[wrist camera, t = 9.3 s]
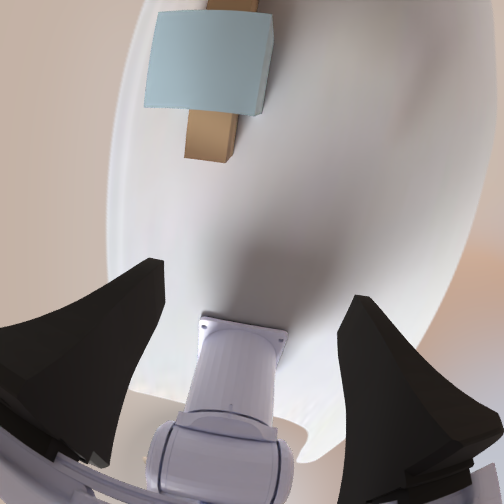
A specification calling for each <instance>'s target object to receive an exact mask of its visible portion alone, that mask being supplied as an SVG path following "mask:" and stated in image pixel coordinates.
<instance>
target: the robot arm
mask: <svg viewBox="0 0 504 504" xmlns="http://www.w3.org/2000/svg"><path fill="white" fill-rule="evenodd" d="M164 305H165V283H164V261H163V260H158V259H153V258H147V259H146V260H144V261H142V262H141V263H139V264H138V265H136V266H134V267H133V268H131V269H130V270H128V271H127V272H125V273H124V274H122V275H120V276H119V277H117V278H116V279H114V280H113V281H111V282H109V283H108V284H106V285H104V286H103V287H101V288H99V289H97V290H96V291H94V292H92V293H91V294H89V295H87V296H85V297H83V298H82V299H80V300H78V301H76V302H74V303H72V304H70V305H67V306H65V307H63V308H61V309H59V310H56V311H53V312H51V313H48V314H46V315H43V316H41V317H38V318H35V319H32V320H29V321H26V322H22V323H19V324H15V325H11V326H7V327H3V328H0V498H1V499H2V500H3V501H4V502H5V503H6V504H109V503H107V502H105V501H102V500H100V499H97V498H96V497H95V495H94V492H93V490H92V489H94V490H96V491H98V492H100V493H103V494H105V495H107V496H110V497H112V498H115V499H117V500H120V501H122V502H125V503H128V504H284V503H285V502H286V500H287V498H288V496H289V493H290V490H291V486H292V481H293V473H294V459H293V453H292V450H291V448H290V447H289V446H288V445H287V443H286V442H285V440H282V439H277V428H275V427H272V423H273V406H274V387H275V370H276V367H277V365H278V362H279V359H280V357H281V354H282V352H283V349H284V346H285V343H286V341H287V338H288V333H287V332H286V331H284V330H278V329H271V328H265V327H259V326H253V325H247V324H242V323H236V322H231V321H225V320H220V319H215V318H210V317H204V316H203V317H201V318H200V320H199V334H198V362H197V365H196V369H195V372H194V376H193V379H192V383H191V387H190V390H189V394H188V397H187V401H186V405H185V408H184V412H181V411H179V412H178V416H177V419H176V422H175V421H171V420H168V421H166V422H165V423H164V424H162V425H160V426H159V427H158V428H157V430H156V432H155V434H154V436H153V438H152V441H151V444H150V447H149V451H148V456H147V461H146V480H147V490H145V489H142V488H139V487H136V486H133V485H130V484H127V483H125V482H122V481H119V480H117V479H114V478H112V477H109V476H107V475H105V474H102V473H100V472H98V471H95V470H93V469H91V468H89V467H87V466H85V465H83V464H81V463H79V462H78V461H79V460H80V461H82V462H83V463H86V464H88V463H89V464H92V465H94V466H96V467H98V468H105V467H108V466H109V465H110V458H111V452H112V447H113V442H114V437H115V432H116V428H117V424H118V420H119V416H120V412H121V409H122V405H123V402H124V399H125V395H126V392H127V389H128V386H129V383H130V381H131V378H132V375H133V373H134V371H135V368H136V366H137V364H138V362H139V360H140V358H141V356H142V354H143V352H144V350H145V348H146V346H147V344H148V342H149V340H150V338H151V336H152V334H153V332H154V330H155V328H156V326H157V324H158V322H159V319H160V316H161V314H162V311H163V308H164ZM204 325H206V326H204ZM337 345H338V359H339V365H340V372H341V378H342V384H343V391H344V398H345V406H346V447H345V460H344V469H343V476H342V482H341V488H340V493H339V498H338V502H337V504H502V500H501V493H500V487H499V482H498V477H497V472H496V468H495V464H494V463H491V464H489V465H487V466H485V467H483V468H481V469H479V470H477V471H475V472H473V473H471V474H470V470H469V468H471V467H473V465H474V461H473V457H475V456H476V455H478V454H479V453H481V452H482V451H484V450H485V449H487V448H488V447H490V446H491V445H492V444H494V443H495V442H496V441H497V440H498V439H499V438H501V436H502V435H503V433H504V428H503V425H502V422H501V419H500V417H499V415H498V413H497V412H495V411H493V410H491V409H489V408H488V407H486V406H484V405H482V404H480V403H479V402H477V401H475V400H474V399H472V398H471V397H469V396H468V395H466V394H465V393H464V392H462V391H461V390H459V389H458V388H456V387H455V386H454V385H453V384H452V383H450V382H449V381H448V380H447V379H445V378H444V377H443V376H442V375H441V374H440V373H438V372H437V371H436V370H435V369H434V368H433V367H432V366H431V365H430V364H429V363H428V362H427V361H426V360H425V359H424V358H423V357H422V356H421V355H420V354H419V353H418V352H417V351H416V350H415V349H414V347H413V346H412V345H411V344H410V343H409V342H408V341H407V340H406V339H405V337H404V336H403V335H402V334H401V333H400V332H399V330H398V329H397V328H396V327H395V326H394V324H393V323H392V322H391V321H390V320H389V318H388V317H387V316H386V315H385V314H384V312H383V311H382V310H381V309H380V308H379V307H378V305H377V304H376V303H375V302H374V301H373V300H372V299H371V298H370V297H368V296H361V295H355V296H354V298H353V300H352V303H351V305H350V307H349V309H348V311H347V313H346V315H345V317H344V319H343V321H342V324H341V326H340V328H339V330H338V332H337Z"/></svg>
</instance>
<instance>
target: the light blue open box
mask: <svg viewBox="0 0 504 504" xmlns="http://www.w3.org/2000/svg"><path fill="white" fill-rule="evenodd" d="M273 45H274V31H273V18H272V14H267V13H258V12H247V11H232V10H181V11H166V12H158V17H157V21H156V26H155V31H154V37H153V42H152V48H151V54H150V60H149V67H148V74H147V82H146V90H145V100H144V107H147V108H178V109H193V110H206V111H216V112H226V113H234V114H242V115H249V116H256V115H259V114H261V113H262V108H263V102H264V96H265V91H266V85H267V79H268V73H269V67H270V62H271V56H272V50H273Z"/></svg>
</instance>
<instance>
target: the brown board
mask: <svg viewBox="0 0 504 504" xmlns="http://www.w3.org/2000/svg"><path fill="white" fill-rule="evenodd" d="M258 2H259V0H208V3H207V8H206V10H232V11H247V12H257V7H258ZM238 115H239V114H234V113H226V112H216V111H206V110H193V109H189V116H188V125H187V134H186V144H185V155H184V158H190V159H198V160H206V161H213V162H220V163H226V162H227V161H228V160H229V158H230V157H231V156H232V155H233V148H234V141H235V135H236V128H237V121H238Z"/></svg>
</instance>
